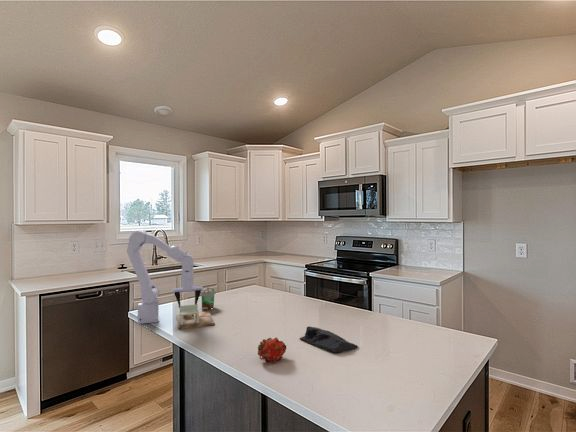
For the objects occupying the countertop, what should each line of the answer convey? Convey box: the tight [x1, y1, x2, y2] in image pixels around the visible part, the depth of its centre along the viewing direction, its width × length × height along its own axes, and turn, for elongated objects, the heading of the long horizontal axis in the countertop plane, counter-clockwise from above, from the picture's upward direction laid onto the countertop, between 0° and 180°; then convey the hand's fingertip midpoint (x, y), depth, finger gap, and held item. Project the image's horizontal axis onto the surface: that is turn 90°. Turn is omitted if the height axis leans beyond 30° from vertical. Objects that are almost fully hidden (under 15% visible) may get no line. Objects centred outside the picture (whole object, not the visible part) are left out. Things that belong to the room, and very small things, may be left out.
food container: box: [200, 287, 217, 311], centre depth 182 cm, size 12×6×10 cm, turn 179°
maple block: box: [183, 315, 193, 319], centre depth 163 cm, size 4×4×5 cm
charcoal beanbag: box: [299, 325, 359, 353], centre depth 131 cm, size 15×22×5 cm
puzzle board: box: [176, 311, 216, 330], centre depth 159 cm, size 16×20×1 cm
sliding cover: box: [179, 303, 200, 325], centre depth 154 cm, size 8×7×7 cm
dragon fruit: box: [257, 337, 287, 364], centre depth 116 cm, size 8×8×12 cm
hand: (187, 306), depth 163 cm, fingers open, 7 cm apart
